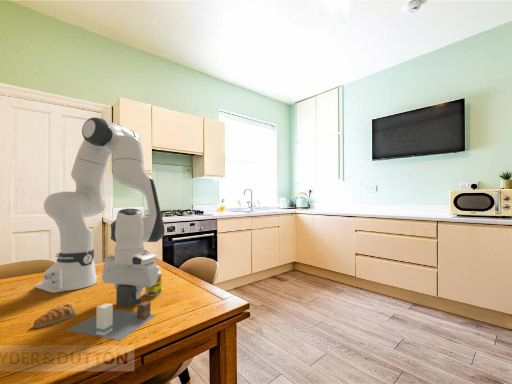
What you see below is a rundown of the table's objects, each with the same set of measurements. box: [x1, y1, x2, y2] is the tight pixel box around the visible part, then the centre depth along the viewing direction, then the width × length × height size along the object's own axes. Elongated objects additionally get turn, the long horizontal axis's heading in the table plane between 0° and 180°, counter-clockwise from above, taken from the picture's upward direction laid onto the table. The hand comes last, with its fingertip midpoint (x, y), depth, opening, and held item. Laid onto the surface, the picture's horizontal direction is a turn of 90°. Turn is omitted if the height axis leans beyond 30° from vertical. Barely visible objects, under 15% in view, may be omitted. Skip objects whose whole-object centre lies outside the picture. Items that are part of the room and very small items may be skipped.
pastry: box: [32, 303, 77, 329], centre depth 73 cm, size 9×7×4 cm
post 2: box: [136, 300, 152, 319], centre depth 74 cm, size 3×3×4 cm
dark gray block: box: [115, 285, 142, 308], centre depth 84 cm, size 5×5×7 cm
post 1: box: [96, 302, 114, 335], centre depth 66 cm, size 3×3×7 cm
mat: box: [65, 308, 157, 341], centre depth 71 cm, size 18×14×1 cm
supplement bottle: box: [144, 265, 163, 297], centre depth 93 cm, size 6×6×10 cm
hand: (129, 297), depth 84 cm, fingers closed on dark gray block, 5 cm apart
